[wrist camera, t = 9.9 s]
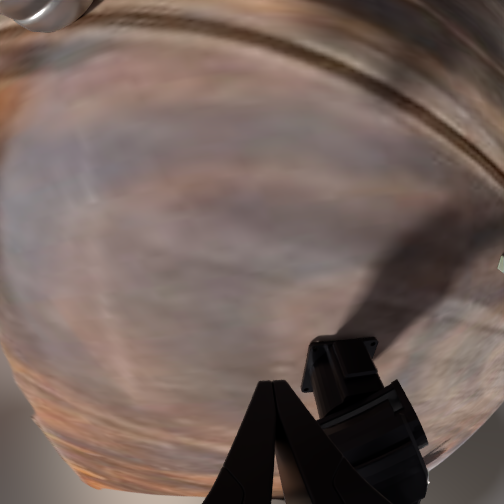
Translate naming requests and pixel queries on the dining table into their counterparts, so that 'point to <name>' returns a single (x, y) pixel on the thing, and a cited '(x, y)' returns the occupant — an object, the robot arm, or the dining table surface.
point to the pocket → (501, 264)
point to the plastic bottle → (44, 13)
